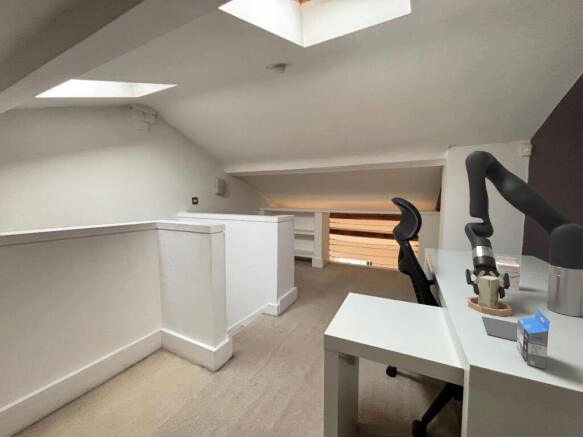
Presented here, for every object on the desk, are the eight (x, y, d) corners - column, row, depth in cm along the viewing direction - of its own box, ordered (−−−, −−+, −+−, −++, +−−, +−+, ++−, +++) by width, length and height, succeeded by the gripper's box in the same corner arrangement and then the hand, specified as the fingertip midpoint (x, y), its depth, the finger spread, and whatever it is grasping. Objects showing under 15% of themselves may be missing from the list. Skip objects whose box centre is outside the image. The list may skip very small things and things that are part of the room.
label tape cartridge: (515, 347, 68) (517, 304, 68) (534, 351, 66) (536, 307, 66) (526, 365, 61) (528, 317, 60) (547, 370, 59) (550, 321, 58)
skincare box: (490, 312, 90) (491, 280, 90) (477, 307, 94) (478, 277, 94) (498, 308, 93) (500, 277, 93) (485, 304, 97) (486, 274, 97)
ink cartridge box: (495, 287, 117) (497, 257, 117) (494, 284, 122) (495, 255, 121) (519, 290, 113) (521, 259, 112) (516, 287, 117) (518, 257, 116)
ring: (506, 306, 96) (506, 301, 96) (513, 318, 85) (514, 313, 85) (466, 299, 103) (466, 294, 103) (469, 310, 92) (469, 305, 92)
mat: (527, 326, 80) (527, 325, 80) (541, 347, 68) (541, 346, 68) (481, 317, 86) (481, 316, 86) (487, 335, 74) (487, 333, 74)
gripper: (464, 253, 103) (468, 288, 93) (508, 256, 96) (517, 294, 86) (461, 262, 108) (465, 297, 98) (503, 266, 101) (511, 303, 91)
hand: (489, 295), depth 92 cm, fingers closed on skincare box, 7 cm apart
